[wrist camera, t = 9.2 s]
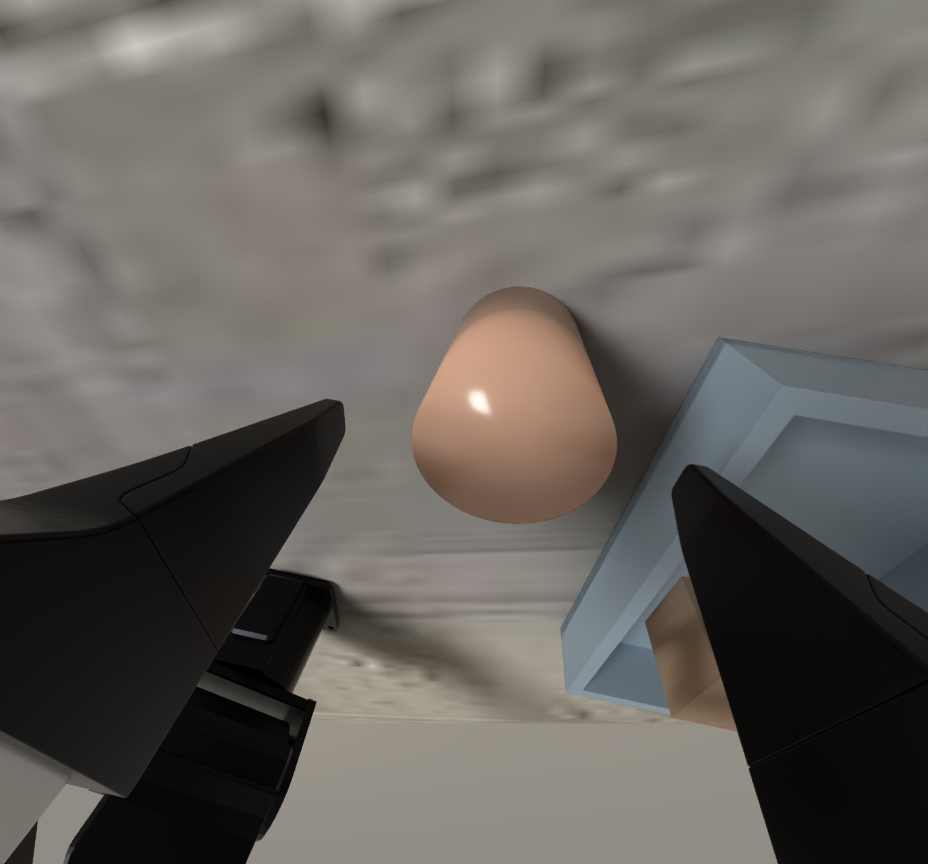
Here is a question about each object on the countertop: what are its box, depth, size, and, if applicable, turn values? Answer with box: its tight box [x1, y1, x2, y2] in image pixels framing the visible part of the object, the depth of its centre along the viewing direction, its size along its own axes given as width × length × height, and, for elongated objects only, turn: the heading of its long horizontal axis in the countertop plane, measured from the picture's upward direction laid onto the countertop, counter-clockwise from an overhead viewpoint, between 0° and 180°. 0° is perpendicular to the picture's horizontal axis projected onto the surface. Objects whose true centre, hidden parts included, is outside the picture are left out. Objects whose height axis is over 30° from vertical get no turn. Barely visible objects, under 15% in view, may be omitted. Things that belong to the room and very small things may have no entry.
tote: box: [561, 338, 928, 715], centre depth 17 cm, size 22×14×4 cm, turn 173°
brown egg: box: [412, 287, 617, 524], centre depth 12 cm, size 5×5×7 cm
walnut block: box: [645, 576, 737, 731], centre depth 19 cm, size 5×5×5 cm
